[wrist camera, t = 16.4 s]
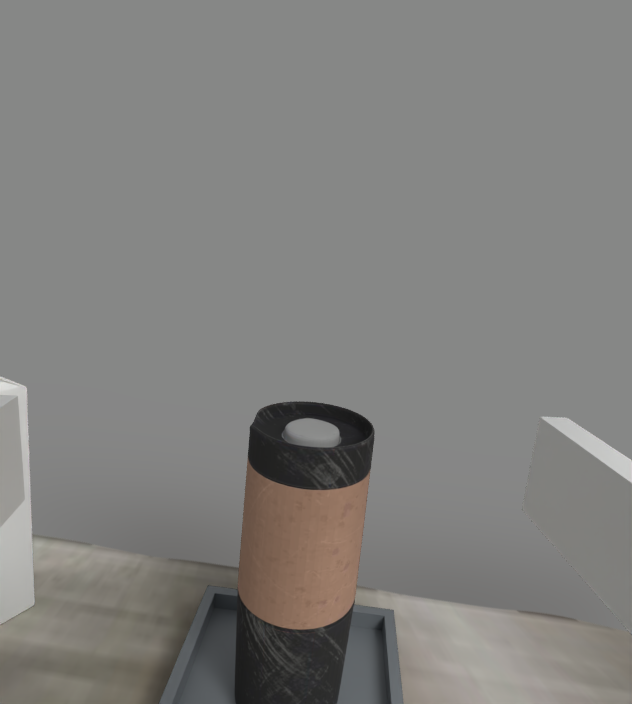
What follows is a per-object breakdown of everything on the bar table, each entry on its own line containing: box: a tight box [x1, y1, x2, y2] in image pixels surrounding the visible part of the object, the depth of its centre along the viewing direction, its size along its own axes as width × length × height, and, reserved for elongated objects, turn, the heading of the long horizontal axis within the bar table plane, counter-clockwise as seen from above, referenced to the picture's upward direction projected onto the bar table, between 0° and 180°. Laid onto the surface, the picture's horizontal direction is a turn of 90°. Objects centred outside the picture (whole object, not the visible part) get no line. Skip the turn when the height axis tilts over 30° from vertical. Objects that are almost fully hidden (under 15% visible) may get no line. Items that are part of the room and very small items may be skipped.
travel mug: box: [235, 402, 374, 704], centre depth 33 cm, size 8×8×20 cm
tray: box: [159, 585, 403, 704], centre depth 35 cm, size 16×16×2 cm
